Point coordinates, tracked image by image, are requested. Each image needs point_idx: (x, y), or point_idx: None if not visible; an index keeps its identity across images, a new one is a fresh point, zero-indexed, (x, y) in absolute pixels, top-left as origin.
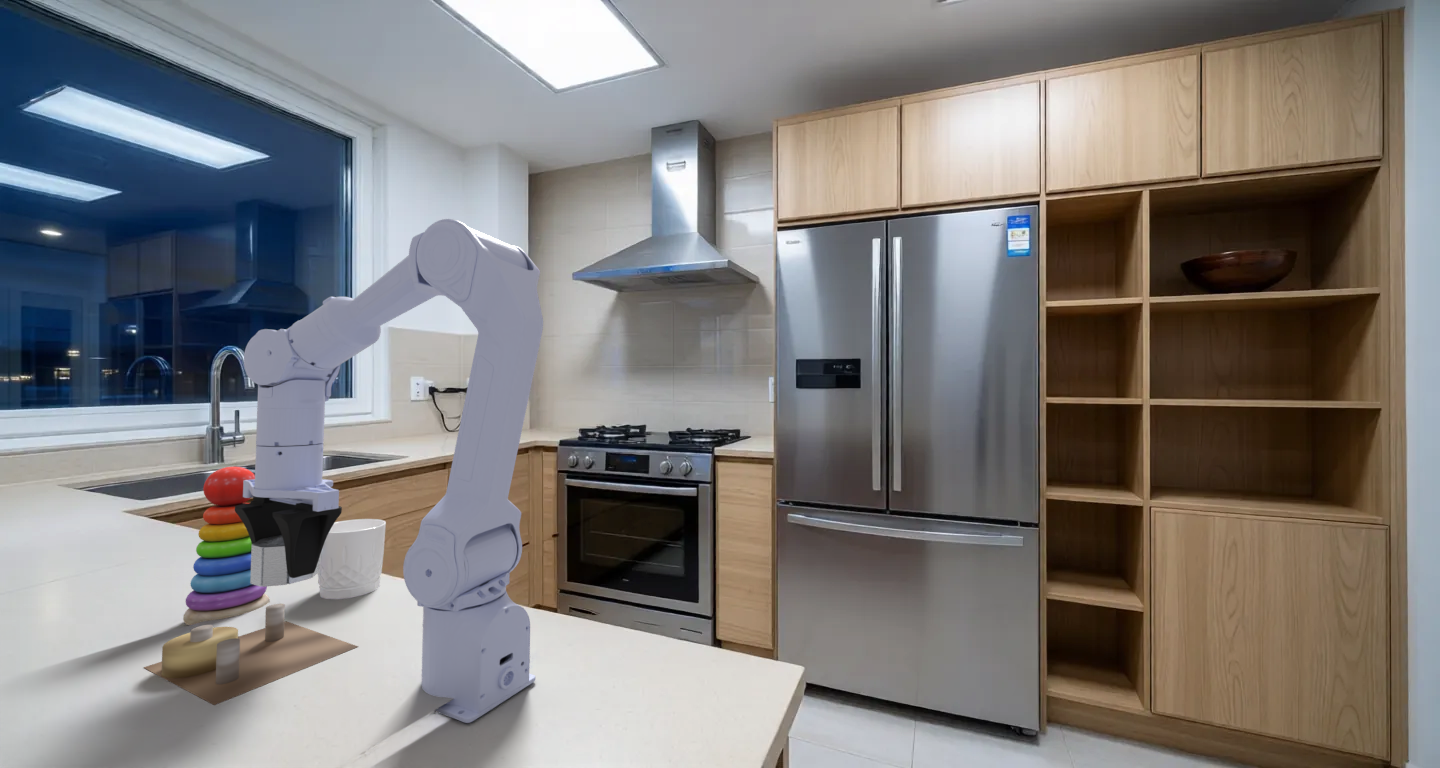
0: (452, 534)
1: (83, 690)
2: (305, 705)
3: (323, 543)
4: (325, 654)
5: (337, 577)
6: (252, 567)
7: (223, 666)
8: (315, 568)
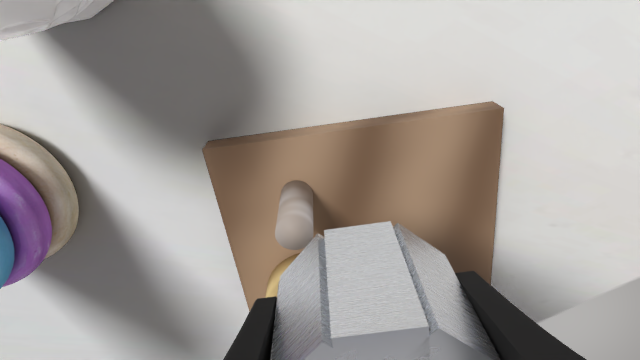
0: None
1: None
2: (568, 217)
3: (557, 340)
4: (473, 162)
5: (66, 1)
6: None
7: None
8: (482, 278)
